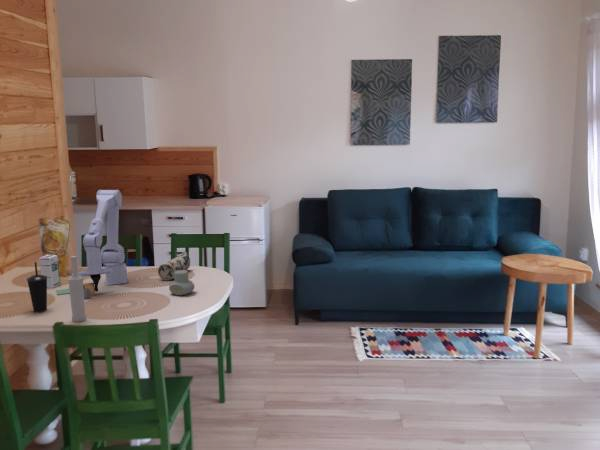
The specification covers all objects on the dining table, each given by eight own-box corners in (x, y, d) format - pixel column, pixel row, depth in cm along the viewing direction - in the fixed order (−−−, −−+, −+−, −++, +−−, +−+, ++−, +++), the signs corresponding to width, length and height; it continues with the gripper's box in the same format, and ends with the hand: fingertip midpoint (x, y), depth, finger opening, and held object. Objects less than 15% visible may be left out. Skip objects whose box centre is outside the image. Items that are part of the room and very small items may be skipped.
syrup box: (53, 288, 257) (50, 257, 254) (41, 287, 258) (38, 257, 255) (60, 284, 262) (58, 254, 260) (49, 284, 263) (46, 254, 261)
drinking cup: (34, 307, 230) (29, 260, 226) (53, 306, 231) (48, 259, 227) (26, 313, 223) (21, 265, 219) (46, 313, 223) (41, 264, 220)
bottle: (81, 316, 219) (75, 254, 215) (89, 318, 216) (83, 256, 212) (69, 320, 215) (63, 257, 210) (77, 322, 212) (71, 258, 207)
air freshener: (166, 295, 245) (165, 273, 243) (176, 289, 253) (175, 268, 251) (187, 297, 242) (186, 275, 240) (197, 292, 249) (196, 270, 247)
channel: (87, 291, 251) (86, 283, 250) (90, 298, 241) (89, 289, 240) (73, 293, 249) (72, 284, 248) (75, 300, 238) (75, 291, 237)
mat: (72, 288, 255) (72, 288, 255) (74, 293, 249) (74, 292, 249) (56, 291, 252) (56, 290, 252) (57, 295, 246) (57, 294, 246)
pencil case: (176, 269, 287) (175, 251, 286) (191, 270, 286) (190, 251, 284) (157, 281, 266) (155, 261, 265) (173, 282, 265) (172, 262, 263)
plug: (94, 292, 249) (93, 282, 248) (95, 295, 245) (94, 284, 244) (73, 296, 245) (71, 285, 244) (73, 299, 241) (72, 288, 240)
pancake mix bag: (48, 270, 288) (43, 216, 283) (75, 274, 280) (71, 219, 275) (37, 273, 282) (32, 219, 277) (65, 277, 274) (60, 221, 269)
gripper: (77, 265, 238) (79, 295, 240) (112, 260, 244) (114, 290, 247) (75, 261, 244) (78, 291, 246) (110, 257, 250) (112, 286, 253)
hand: (96, 290), depth 247 cm, fingers closed
